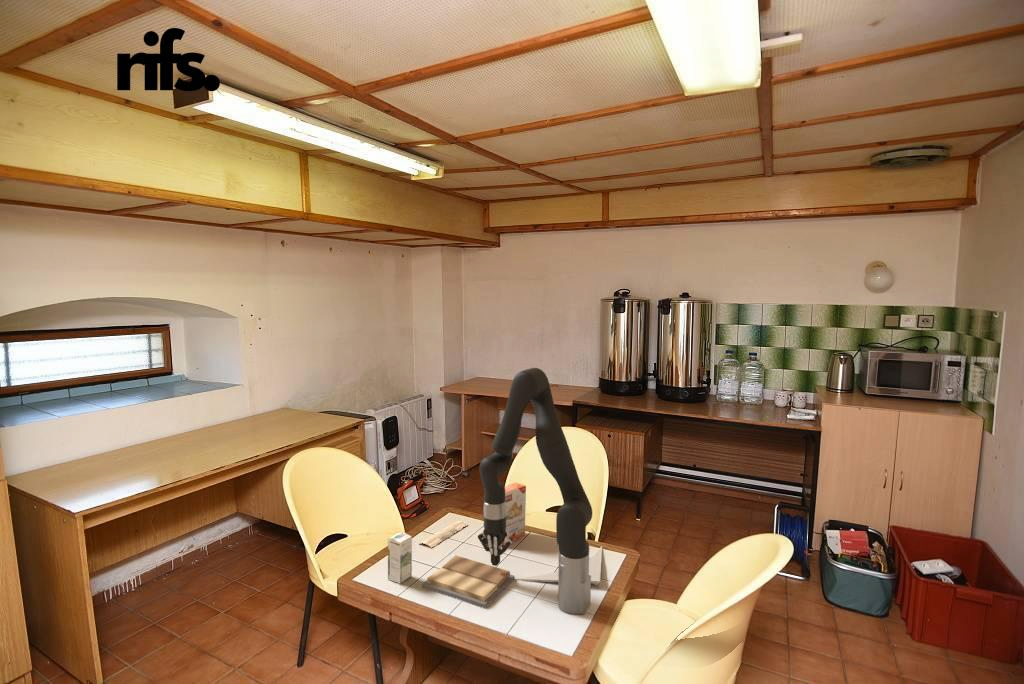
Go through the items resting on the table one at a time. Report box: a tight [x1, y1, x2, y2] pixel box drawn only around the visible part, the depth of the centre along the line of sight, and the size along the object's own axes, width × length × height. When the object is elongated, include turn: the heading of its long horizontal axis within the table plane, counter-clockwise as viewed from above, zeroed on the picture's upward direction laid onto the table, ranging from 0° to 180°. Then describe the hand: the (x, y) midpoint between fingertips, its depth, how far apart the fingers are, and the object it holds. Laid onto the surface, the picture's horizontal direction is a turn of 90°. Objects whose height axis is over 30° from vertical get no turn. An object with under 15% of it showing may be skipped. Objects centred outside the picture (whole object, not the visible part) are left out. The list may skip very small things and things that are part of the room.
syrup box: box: [387, 532, 413, 585], centre depth 173 cm, size 6×6×14 cm
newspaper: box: [418, 520, 469, 549], centre depth 206 cm, size 24×7×2 cm, turn 149°
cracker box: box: [501, 482, 527, 548], centre depth 202 cm, size 14×6×21 cm, turn 136°
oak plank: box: [426, 566, 497, 601], centre depth 167 cm, size 22×8×2 cm, turn 61°
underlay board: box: [422, 574, 516, 609], centre depth 171 cm, size 24×19×1 cm
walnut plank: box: [442, 555, 511, 588], centre depth 174 cm, size 22×8×2 cm, turn 61°
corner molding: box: [513, 545, 603, 586], centre depth 185 cm, size 30×2×30 cm
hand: (495, 564), depth 172 cm, fingers closed
